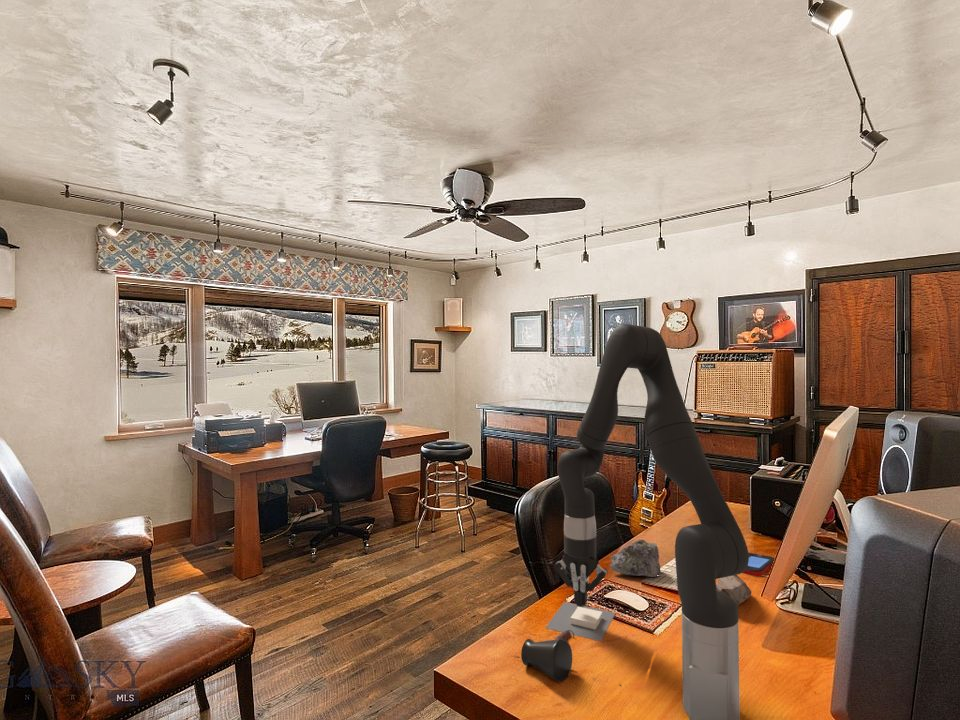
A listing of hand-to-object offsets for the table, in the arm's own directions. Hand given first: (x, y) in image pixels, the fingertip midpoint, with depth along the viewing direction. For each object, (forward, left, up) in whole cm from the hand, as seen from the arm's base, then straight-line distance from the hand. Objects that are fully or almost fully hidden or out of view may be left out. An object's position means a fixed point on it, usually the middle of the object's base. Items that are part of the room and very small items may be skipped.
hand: (581, 605), depth 124 cm
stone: (+26, -31, -4) cm, 41 cm away
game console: (+54, -34, -5) cm, 64 cm away
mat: (0, 0, -4) cm, 4 cm away
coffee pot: (-16, 0, -4) cm, 17 cm away
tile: (0, +2, -3) cm, 3 cm away
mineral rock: (+34, -6, -4) cm, 35 cm away
